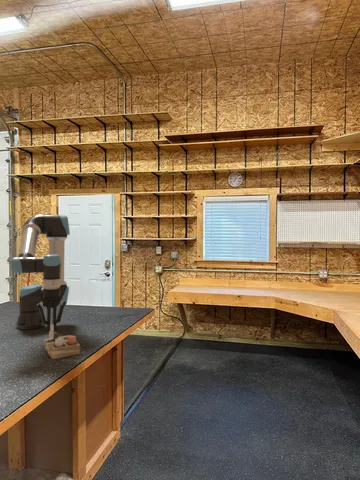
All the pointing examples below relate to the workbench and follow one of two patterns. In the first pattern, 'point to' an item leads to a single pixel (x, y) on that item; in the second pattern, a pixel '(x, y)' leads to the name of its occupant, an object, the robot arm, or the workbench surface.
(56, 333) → the fader knob
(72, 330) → the workbench surface
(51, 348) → the console
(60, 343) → the button
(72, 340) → the button
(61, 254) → the robot arm
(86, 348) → the workbench surface
